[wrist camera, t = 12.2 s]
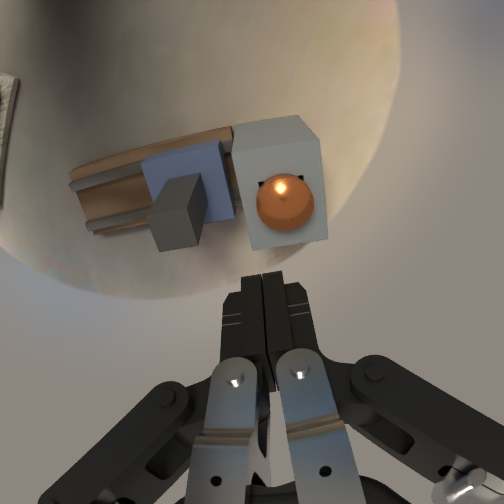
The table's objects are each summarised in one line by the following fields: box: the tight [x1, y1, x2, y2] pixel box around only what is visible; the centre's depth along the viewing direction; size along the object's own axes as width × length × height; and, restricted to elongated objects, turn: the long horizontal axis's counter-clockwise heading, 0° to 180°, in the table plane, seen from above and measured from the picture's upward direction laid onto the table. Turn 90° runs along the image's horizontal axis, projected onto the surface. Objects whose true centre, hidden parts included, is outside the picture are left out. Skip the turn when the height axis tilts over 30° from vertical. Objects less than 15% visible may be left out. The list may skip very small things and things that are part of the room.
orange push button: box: [256, 173, 314, 231], centre depth 24 cm, size 4×4×6 cm
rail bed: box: [69, 126, 243, 235], centre depth 31 cm, size 8×18×2 cm, turn 100°
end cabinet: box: [231, 115, 328, 251], centre depth 27 cm, size 8×6×10 cm
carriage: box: [141, 139, 236, 252], centre depth 26 cm, size 7×7×9 cm
